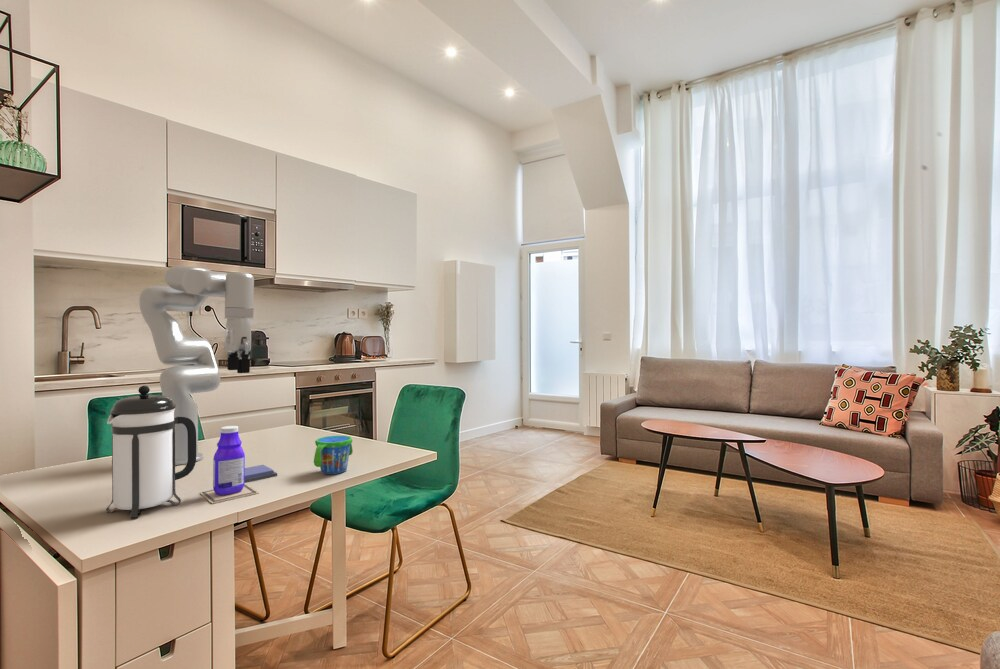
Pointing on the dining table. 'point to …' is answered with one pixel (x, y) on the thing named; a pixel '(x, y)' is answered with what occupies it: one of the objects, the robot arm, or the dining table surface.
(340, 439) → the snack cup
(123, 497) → the coffee press
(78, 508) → the dining table surface
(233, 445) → the bottle
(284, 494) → the dining table surface
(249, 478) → the ink pad
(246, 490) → the marked card
